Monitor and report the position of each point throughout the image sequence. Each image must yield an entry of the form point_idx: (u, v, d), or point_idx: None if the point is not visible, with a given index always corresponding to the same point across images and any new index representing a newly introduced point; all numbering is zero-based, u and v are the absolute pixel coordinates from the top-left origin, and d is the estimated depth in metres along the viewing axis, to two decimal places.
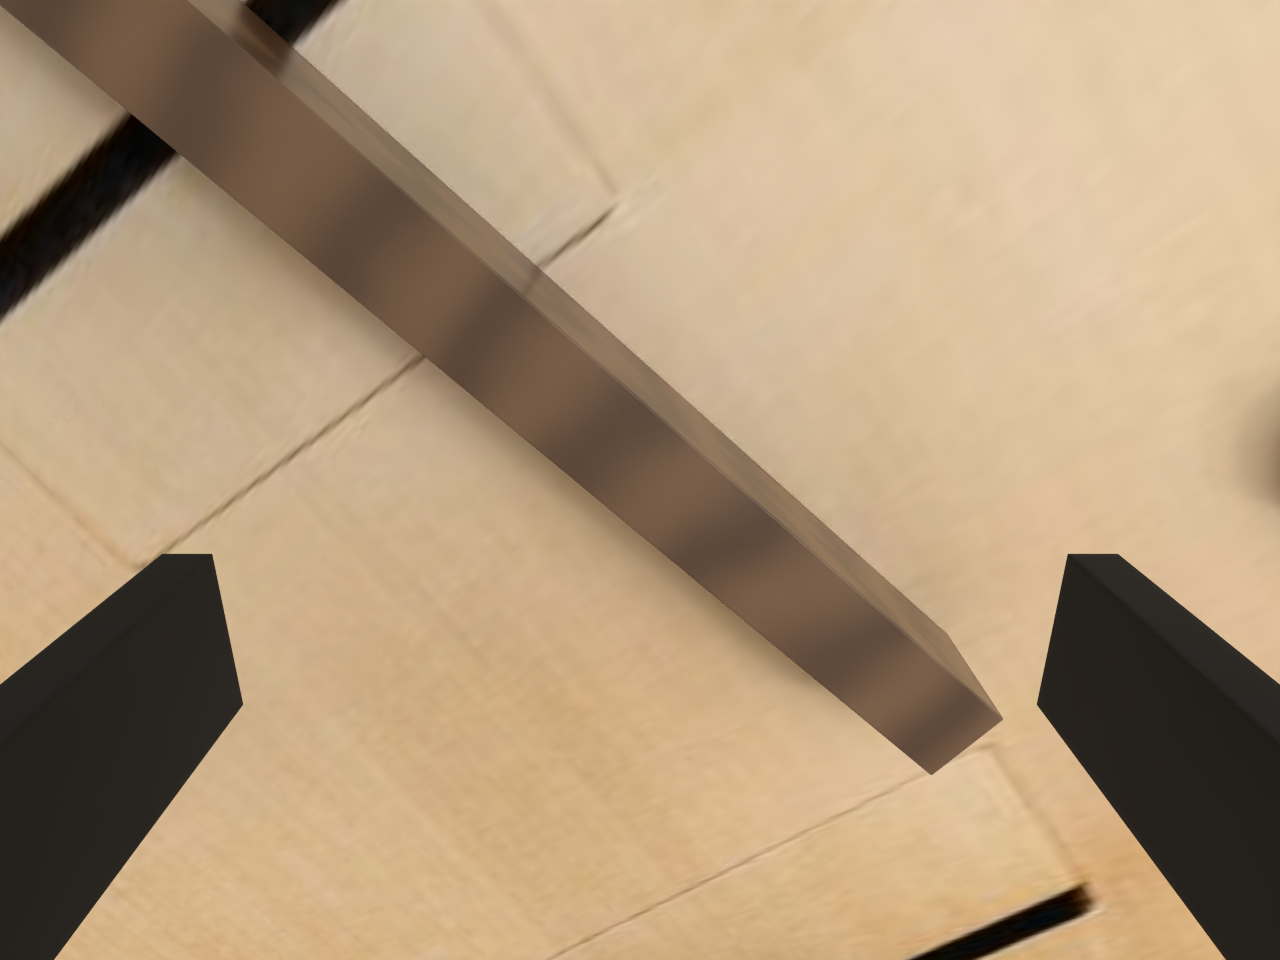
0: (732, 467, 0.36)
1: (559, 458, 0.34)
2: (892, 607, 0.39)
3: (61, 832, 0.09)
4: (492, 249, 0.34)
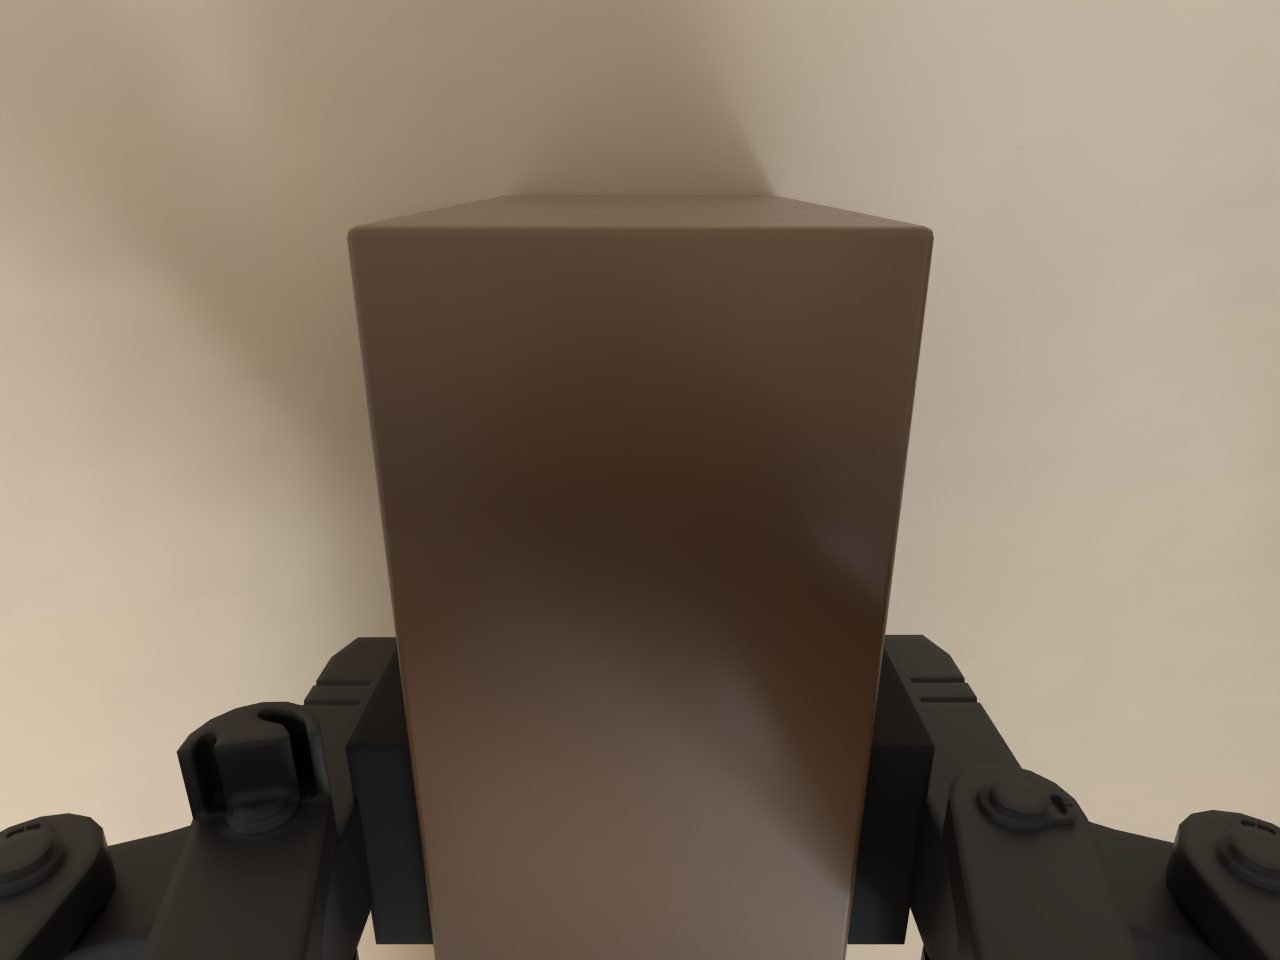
0: None
1: None
2: None
3: None
4: None
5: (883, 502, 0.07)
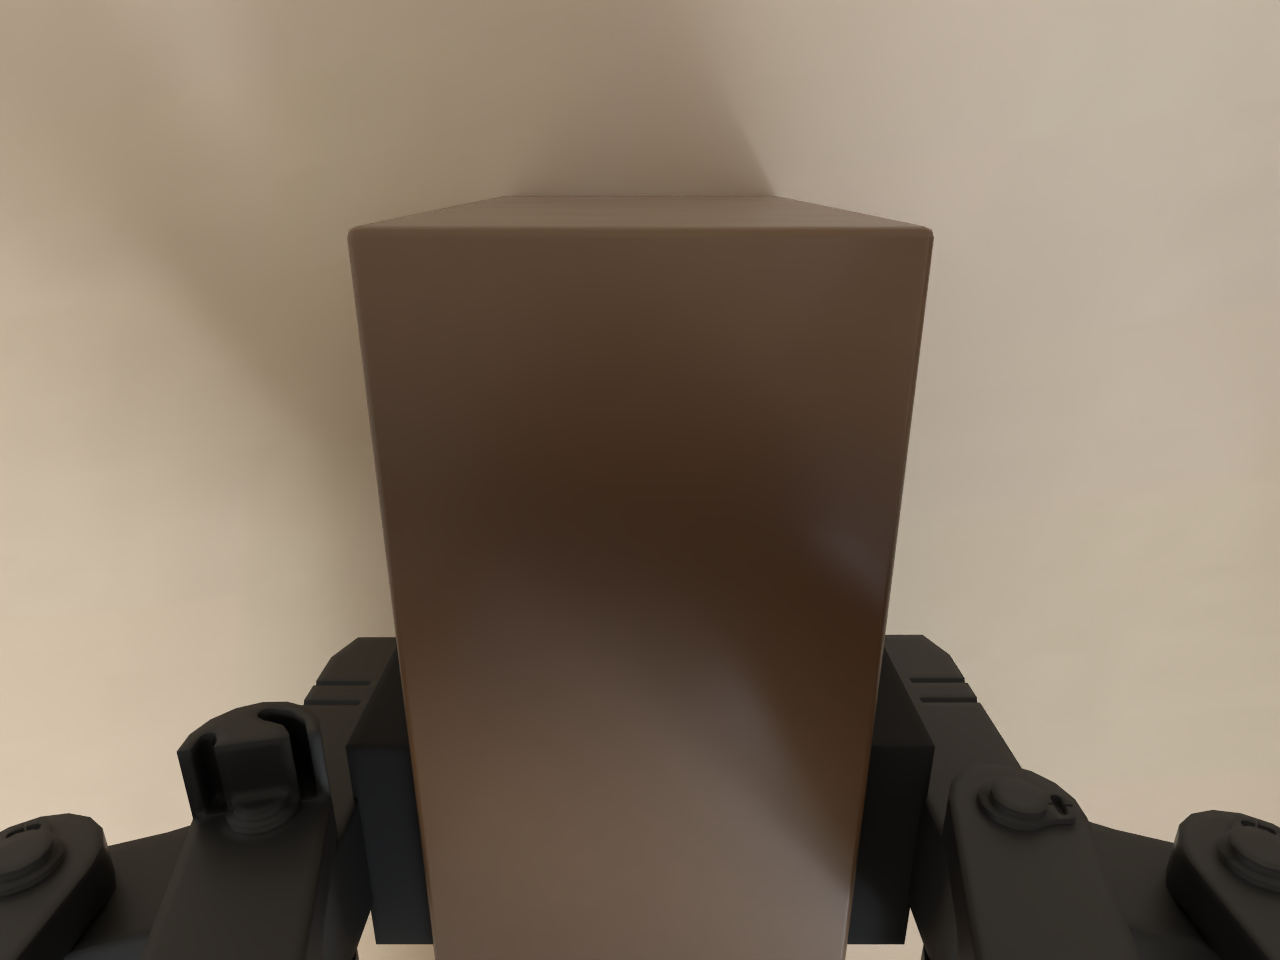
0: None
1: None
2: None
3: None
4: None
5: (883, 502, 0.07)
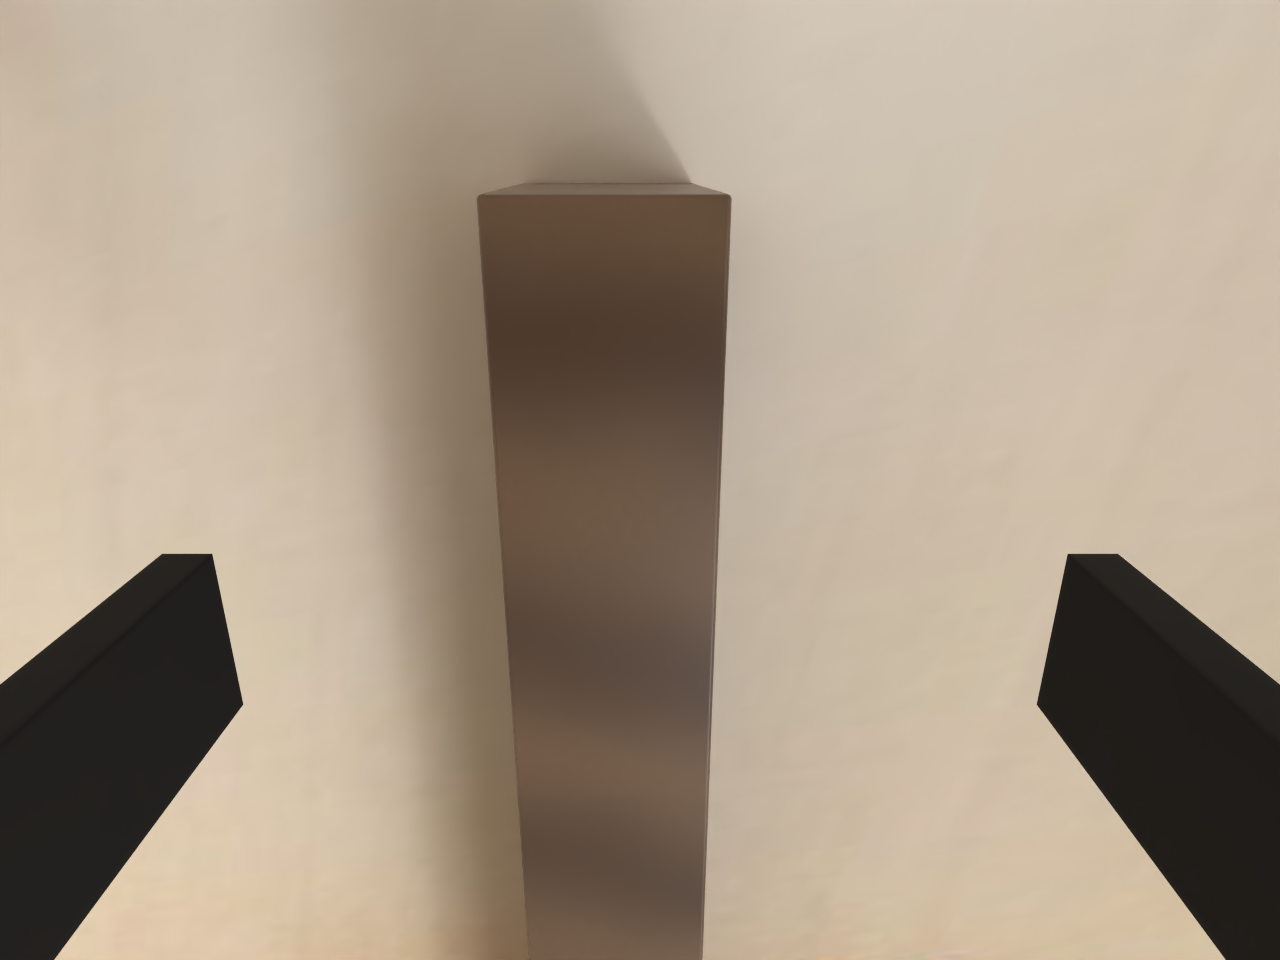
0: None
1: None
2: None
3: (60, 832, 0.09)
4: None
5: (717, 321, 0.15)
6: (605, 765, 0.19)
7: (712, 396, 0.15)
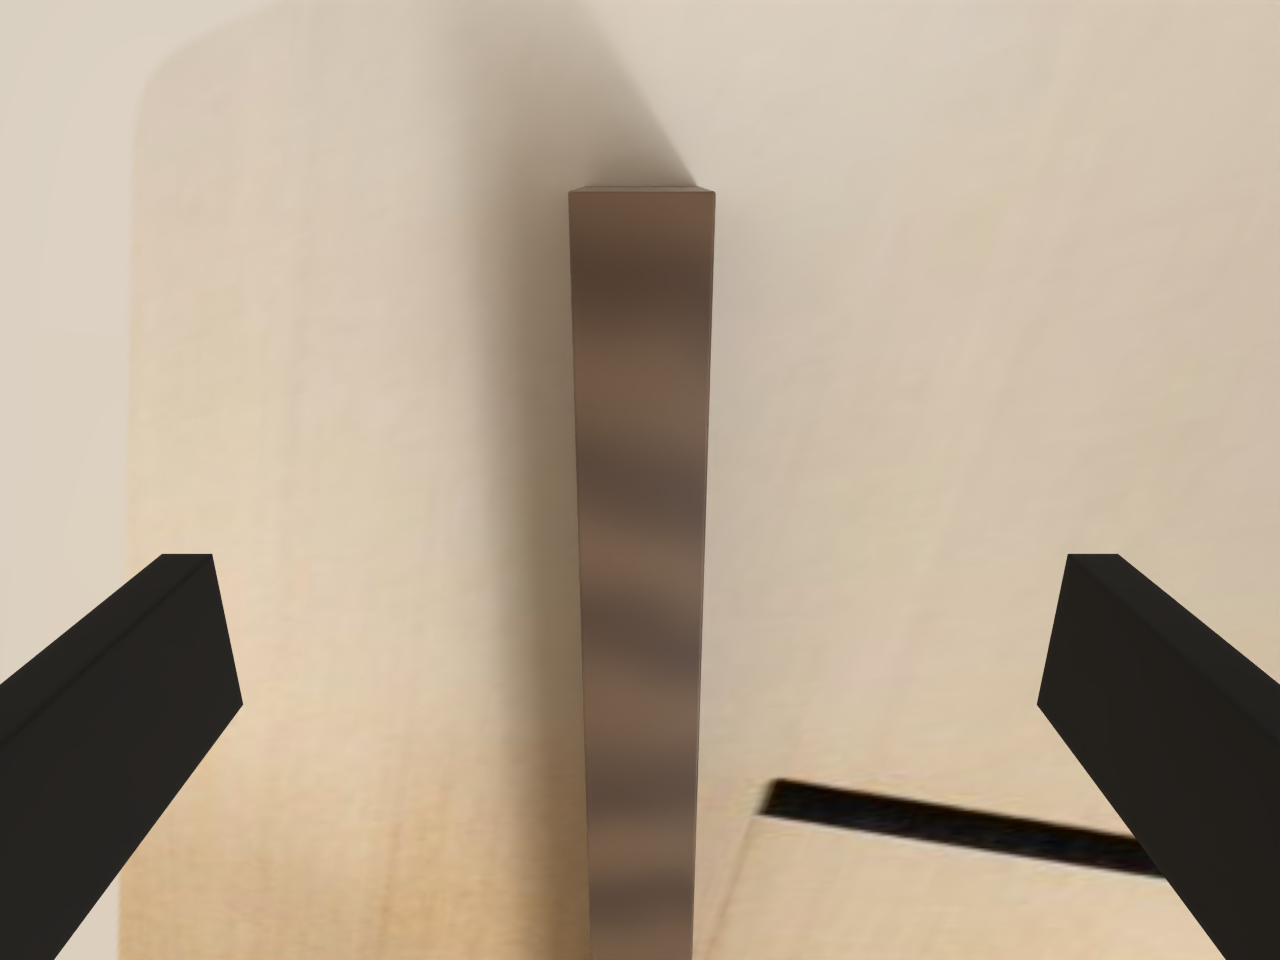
0: None
1: None
2: None
3: (60, 831, 0.09)
4: None
5: (708, 267, 0.25)
6: (636, 559, 0.29)
7: (704, 313, 0.26)
